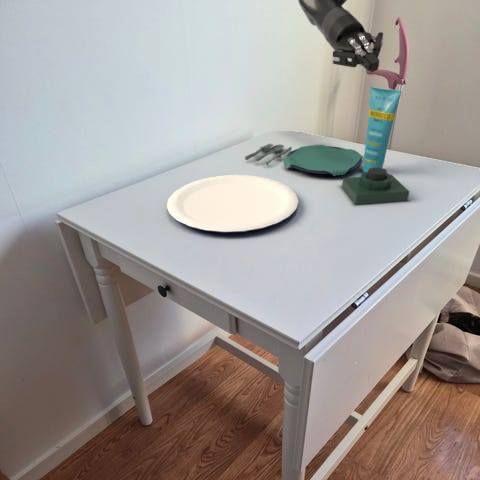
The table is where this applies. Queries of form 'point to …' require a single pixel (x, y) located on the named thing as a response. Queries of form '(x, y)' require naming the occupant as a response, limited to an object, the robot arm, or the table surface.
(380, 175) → the button
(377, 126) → the tube
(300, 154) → the cutlery set
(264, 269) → the table surface
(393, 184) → the pump base
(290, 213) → the plate
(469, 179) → the table surface
